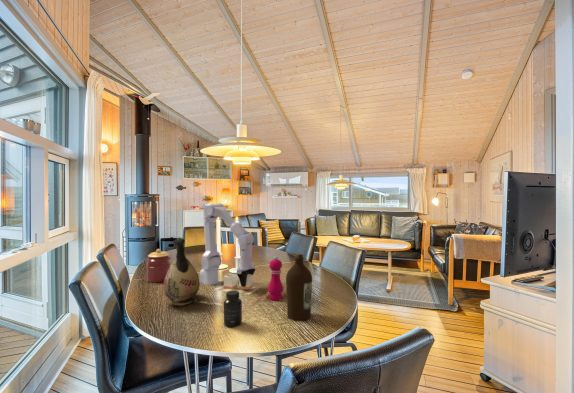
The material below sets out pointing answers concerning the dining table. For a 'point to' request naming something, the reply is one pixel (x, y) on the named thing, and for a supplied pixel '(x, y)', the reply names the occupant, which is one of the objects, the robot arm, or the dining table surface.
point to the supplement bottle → (232, 309)
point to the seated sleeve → (230, 281)
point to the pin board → (241, 291)
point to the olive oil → (299, 290)
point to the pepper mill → (275, 280)
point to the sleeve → (247, 282)
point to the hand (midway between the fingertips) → (246, 284)
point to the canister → (157, 266)
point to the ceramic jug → (181, 278)
